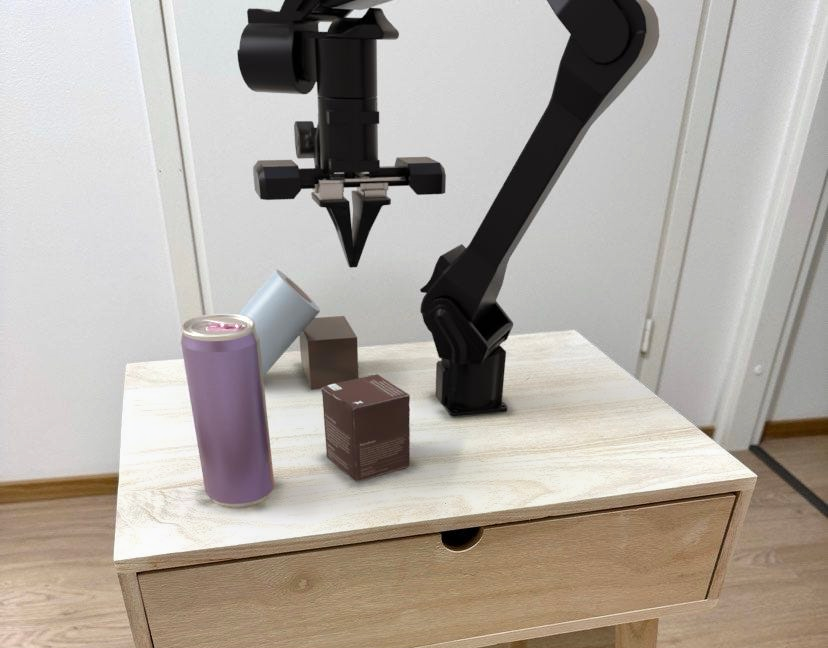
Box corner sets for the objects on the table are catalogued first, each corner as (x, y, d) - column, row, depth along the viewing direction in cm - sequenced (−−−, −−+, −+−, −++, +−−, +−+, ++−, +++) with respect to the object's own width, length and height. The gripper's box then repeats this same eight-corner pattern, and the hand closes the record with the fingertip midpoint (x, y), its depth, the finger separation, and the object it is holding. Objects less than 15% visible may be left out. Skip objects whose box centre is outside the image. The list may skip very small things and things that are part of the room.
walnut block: (346, 361, 94) (344, 315, 91) (358, 385, 87) (357, 337, 84) (301, 364, 93) (297, 318, 89) (310, 389, 86) (307, 340, 83)
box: (411, 468, 71) (412, 394, 67) (354, 484, 68) (352, 408, 64) (378, 443, 75) (377, 372, 71) (324, 457, 72) (320, 385, 68)
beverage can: (260, 514, 64) (239, 339, 55) (194, 505, 65) (164, 333, 56) (284, 480, 69) (268, 315, 60) (222, 473, 70) (198, 310, 61)
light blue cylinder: (319, 365, 92) (312, 261, 85) (327, 384, 87) (321, 276, 80) (217, 373, 90) (202, 267, 83) (219, 394, 85) (203, 282, 78)
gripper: (417, 91, 81) (415, 245, 89) (240, 91, 76) (256, 253, 85) (450, 99, 72) (444, 269, 81) (252, 99, 67) (268, 279, 76)
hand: (352, 266), depth 81 cm, fingers closed
